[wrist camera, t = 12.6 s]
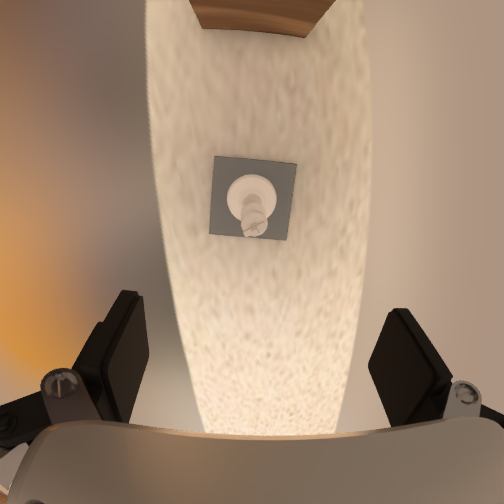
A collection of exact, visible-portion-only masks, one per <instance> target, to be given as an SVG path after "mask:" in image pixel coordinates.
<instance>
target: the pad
mask: <svg viewBox="0 0 504 504" xmlns="http://www.w3.org/2000/svg"><path fill="white" fill-rule="evenodd" d="M296 166H297V164H291V163H283V162H274V161H264V160H254V159H243V158H231V157H218V156H215V157H214V170H213V184H212V198H211V214H210V232H209V234H215V235H227V236H239V237H245V235H244V234H243V230H242V227H241V221H240V220H238V219H237V218H236V217H235V216H234V215H233V214H232V213H231V211H230V209H229V207H228V204H227V193H228V190H229V188H230V186H231V184H232V183H233V182H234V181H235V180H236V179H238V178H239V177H242V176H244V175H249V174H255V175H260V176H262V177H264V178H266V179H267V180H269V181H270V182H271V184H272V185H273V187H274V188H275V191H276V196H277V201H276V206H275V209H274V211H273V212H272V214H271V215H270V216H269V217H268V218H267V222H268V225H267V229H266V230H265V232H264V233H263V234H261V235H259V236H255V237H254V236H248V237H251V238H263V239H275V240H286V238H287V231H288V224H289V217H290V210H291V203H292V196H293V189H294V181H295V174H296Z"/></svg>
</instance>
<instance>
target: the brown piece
mask: <svg viewBox="0 0 504 504" xmlns="http://www.w3.org/2000/svg"><path fill="white" fill-rule="evenodd" d="M189 1H190V3H191V6H192V8H193V10H194V12H195V14H196V16H197V18H198V20H199V22H200V25H201V27H202V28H204V29H231V30H245V31H257V32H266V33H275V34H282V35H289V36H296V37H302V38H305V37H306V36H307V35H308V34H309V32H310V31H311V30H312V28H313V27H314V26H315V25H316V23H317V22H318V21H319V20H320V18H321V17H322V16H323V15H324V14H325V12H326V11H327V10H328V9H329V7H330V6H331V5H332V4H333V3H334V1H335V0H189Z"/></svg>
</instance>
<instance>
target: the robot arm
mask: <svg viewBox="0 0 504 504" xmlns="http://www.w3.org/2000/svg"><path fill="white" fill-rule="evenodd" d="M148 358H149V347H148V339H147V331H146V322H145V312H144V302H143V297H142V296H139V295H138V292H137V291H129V290H122V291H121V292H120V294H119V296H118V298H117V299H116V301H115V302H114V304H113V306H112V308H111V309H110V311H109V313H108V314H107V316H106V318H105V320H104V321H103V322H98V323H97V324H96V326H95V327H94V329H93V331H92V333H91V335H90V336H89V338H88V340H87V341H86V343H85V345H84V347H83V349H82V350H81V352H80V354H79V356H78V357H77V359H76V361H75V363H74V365H73V367H72V369H68V368H58V369H54V370H52V371H50V372H49V373H47V374H46V375H45V376H44V377H43V379H42V381H41V384H40V388H41V391H39V392H36V393H33V394H31V395H28V396H26V397H23V398H20V399H17V400H15V401H12V402H9V403H6V404H4V405H1V406H0V504H504V415H503V414H501V413H499V412H497V411H495V410H493V409H490V408H488V407H486V406H484V405H482V404H481V401H482V399H481V394H480V391H479V390H478V389H477V387H475V386H474V385H473V384H471V383H469V382H467V381H460V380H459V381H456V382H454V383H453V384H452V382H451V379H452V377H453V375H452V374H451V372H450V371H449V369H448V367H447V366H446V365H445V363H444V361H443V360H442V358H441V356H440V355H439V354H438V352H437V350H436V349H435V347H434V346H433V344H432V343H431V341H430V340H429V339H428V337H427V336H426V334H425V332H424V331H423V330H422V328H421V327H420V325H419V324H418V322H417V321H416V319H415V318H414V317H413V315H412V314H411V312H410V311H409V310H408V309H407V308H394V309H393V310H392V311H391V312H389V313H388V315H387V318H386V320H385V323H384V325H383V328H382V331H381V333H380V336H379V338H378V341H377V343H376V346H375V348H374V350H373V353H372V355H371V357H370V360H369V363H368V369H369V372H370V374H371V376H372V379H373V381H374V384H375V386H376V389H377V392H378V394H379V397H380V399H381V402H382V404H383V407H384V409H385V412H386V415H387V417H388V420H389V422H390V425H391V427H390V428H383V429H376V430H368V431H358V432H348V433H336V434H321V435H297V436H253V435H228V434H213V433H201V432H191V431H182V430H172V429H164V428H157V427H149V426H143V425H136V424H129V420H130V417H131V413H132V410H133V407H134V404H135V400H136V397H137V394H138V390H139V387H140V384H141V381H142V377H143V374H144V371H145V368H146V365H147V362H148ZM11 483H12V485H11V487H10V491H9V493H8V489H9V485H10V484H11Z"/></svg>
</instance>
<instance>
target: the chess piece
mask: <svg viewBox="0 0 504 504" xmlns="http://www.w3.org/2000/svg"><path fill="white" fill-rule="evenodd" d="M276 201H277V196H276V191H275V188H274V187H273V185H272V184H271V182H270V181H269V180H267V179H266V178H264V177H262V176H260V175H255V174H249V175H244V176H242V177H239V178H238V179H236V180H235V181H234V182H233V183H232V184H231V186H230V188H229V190H228V193H227V204H228V207H229V209H230V211H231V213H232V214H233V215H234V216H235V217H236V218H237V219H238V220H240V221H241V227H242V230H243V234H244V235H245V237H248V236H254V237H255V236H259V235H261V234H263V233H264V232H265V230H266V229H267V225H268V222H267V218H268V217H269V216H270V215H271V214H272V212H273V211H274V209H275V206H276Z"/></svg>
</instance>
